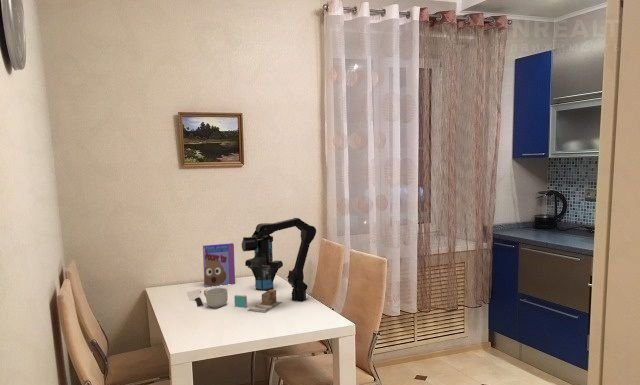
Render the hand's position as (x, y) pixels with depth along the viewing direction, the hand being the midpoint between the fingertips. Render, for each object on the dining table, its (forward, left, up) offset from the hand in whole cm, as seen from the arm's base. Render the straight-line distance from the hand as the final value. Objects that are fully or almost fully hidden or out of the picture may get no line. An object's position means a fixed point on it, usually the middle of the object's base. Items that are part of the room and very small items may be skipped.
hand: (264, 280), depth 220 cm
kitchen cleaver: (+43, +1, -14) cm, 45 cm away
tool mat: (-1, +1, -13) cm, 13 cm away
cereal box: (+47, -29, -13) cm, 57 cm away
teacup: (+25, +6, -13) cm, 29 cm away
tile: (+11, +5, -13) cm, 18 cm away
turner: (-1, 0, -12) cm, 12 cm away
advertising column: (+16, -28, -13) cm, 35 cm away
